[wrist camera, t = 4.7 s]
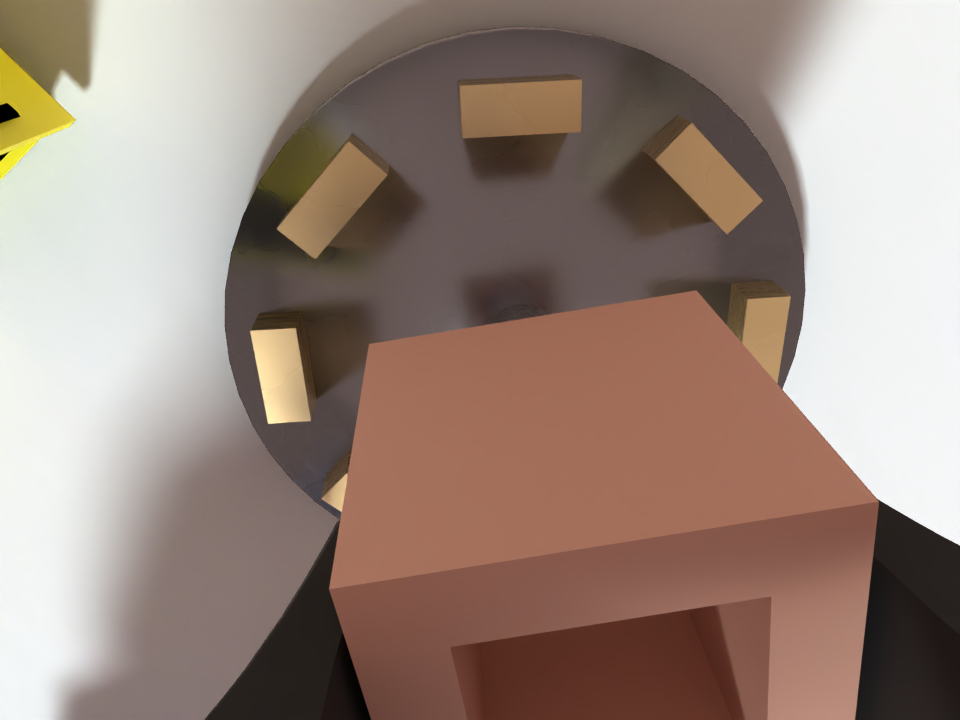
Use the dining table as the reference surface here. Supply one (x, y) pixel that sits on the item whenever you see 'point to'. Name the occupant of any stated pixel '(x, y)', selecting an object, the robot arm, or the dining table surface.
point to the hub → (494, 221)
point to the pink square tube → (598, 527)
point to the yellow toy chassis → (24, 113)
